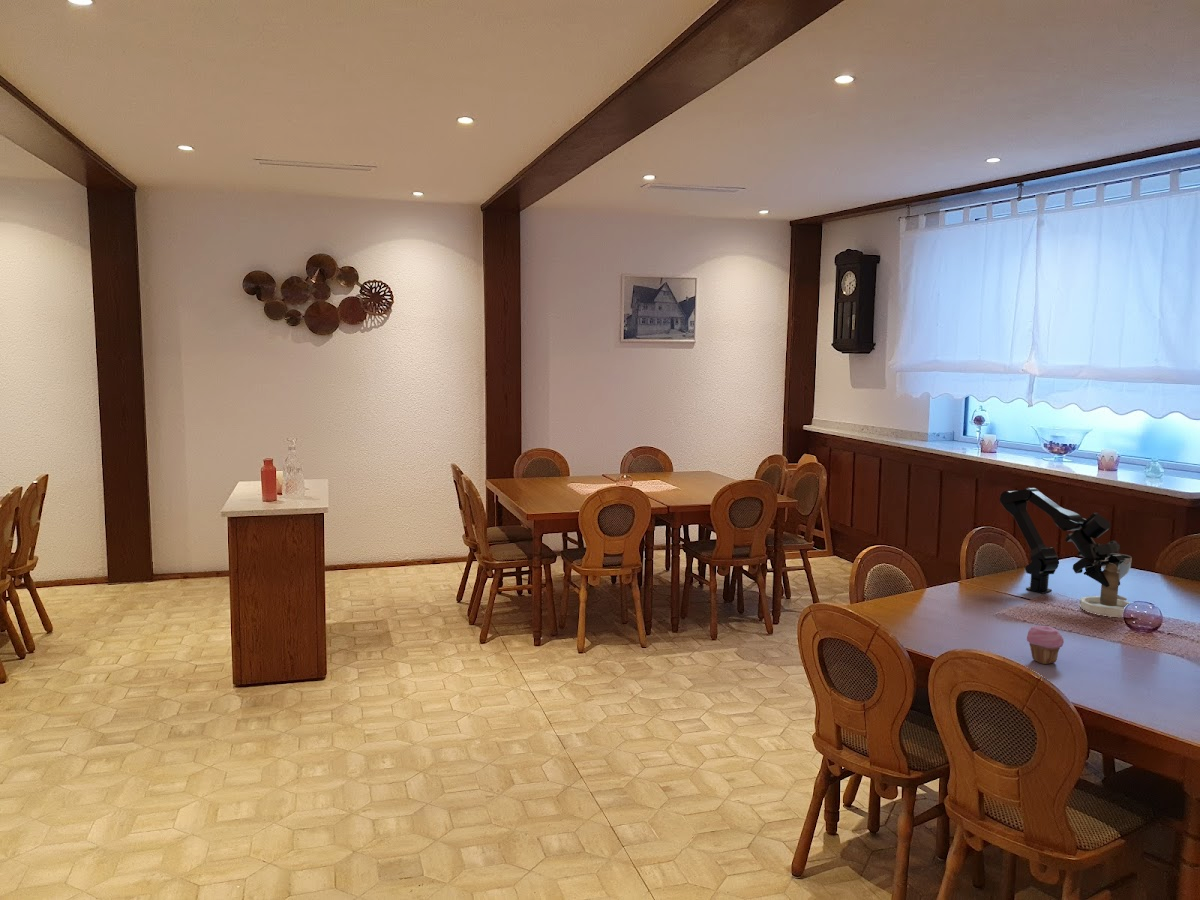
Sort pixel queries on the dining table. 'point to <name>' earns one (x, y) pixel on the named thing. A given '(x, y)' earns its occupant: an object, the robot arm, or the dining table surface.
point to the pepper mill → (1111, 592)
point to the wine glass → (1123, 568)
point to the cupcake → (1044, 643)
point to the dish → (1102, 606)
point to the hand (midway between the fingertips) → (1113, 585)
